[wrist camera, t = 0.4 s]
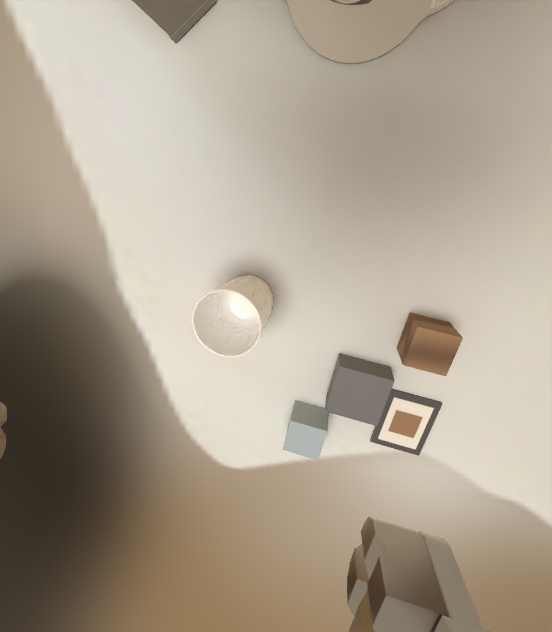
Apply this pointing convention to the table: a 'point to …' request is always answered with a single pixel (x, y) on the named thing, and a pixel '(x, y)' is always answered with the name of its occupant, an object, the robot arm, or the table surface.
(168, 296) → the table surface
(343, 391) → the charcoal base block
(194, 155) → the table surface
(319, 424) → the slate-blue block
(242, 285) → the white cup
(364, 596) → the robot arm
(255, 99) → the table surface
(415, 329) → the walnut block
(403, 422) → the card
